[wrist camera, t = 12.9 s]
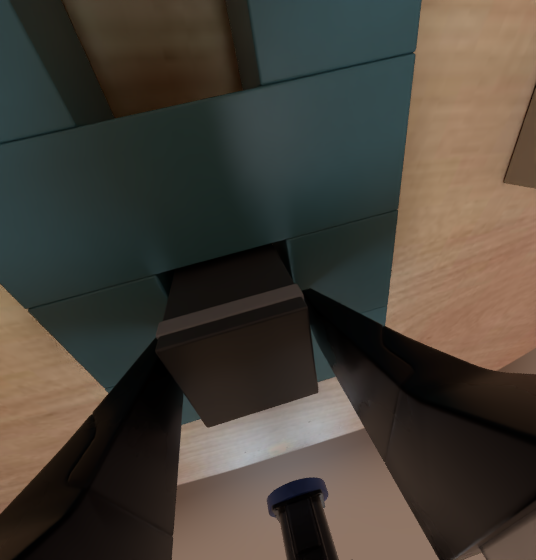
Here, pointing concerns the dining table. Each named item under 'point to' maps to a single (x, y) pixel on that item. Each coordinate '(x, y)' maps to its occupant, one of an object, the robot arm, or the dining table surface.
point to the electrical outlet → (525, 152)
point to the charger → (237, 335)
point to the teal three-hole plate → (201, 170)
